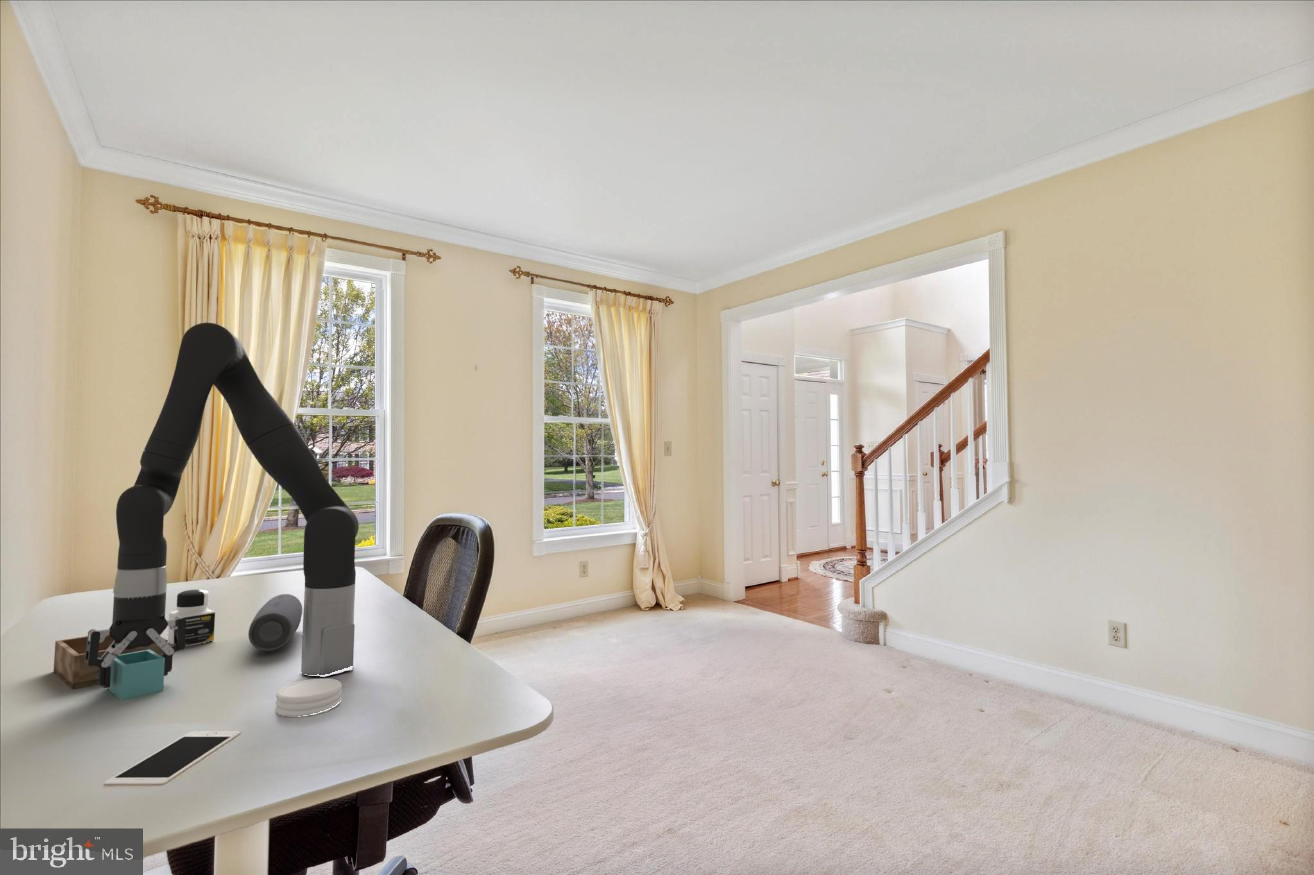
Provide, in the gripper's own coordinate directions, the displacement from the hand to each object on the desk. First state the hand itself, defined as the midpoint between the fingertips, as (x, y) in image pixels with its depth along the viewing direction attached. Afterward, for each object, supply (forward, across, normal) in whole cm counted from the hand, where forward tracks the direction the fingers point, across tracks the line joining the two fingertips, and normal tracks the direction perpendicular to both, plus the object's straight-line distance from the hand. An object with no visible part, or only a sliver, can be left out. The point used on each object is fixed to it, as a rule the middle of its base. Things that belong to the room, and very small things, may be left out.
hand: (135, 680), depth 114 cm
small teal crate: (+2, 0, 0) cm, 2 cm away
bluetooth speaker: (+2, +29, +13) cm, 32 cm away
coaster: (+2, +16, -33) cm, 37 cm away
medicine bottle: (+2, +17, +29) cm, 34 cm away
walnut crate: (+2, 0, +17) cm, 17 cm away
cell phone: (+2, -4, -38) cm, 38 cm away
